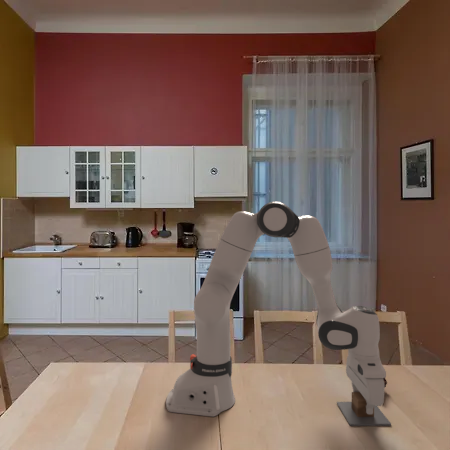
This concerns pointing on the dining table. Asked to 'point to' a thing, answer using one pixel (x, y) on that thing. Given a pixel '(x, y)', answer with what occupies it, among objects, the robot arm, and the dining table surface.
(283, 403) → the dining table surface
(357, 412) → the cube
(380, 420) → the coaster
